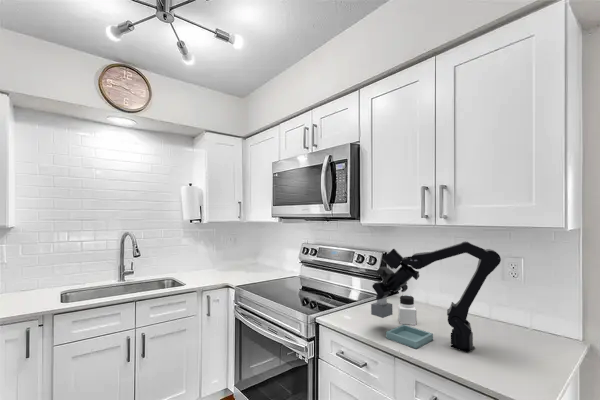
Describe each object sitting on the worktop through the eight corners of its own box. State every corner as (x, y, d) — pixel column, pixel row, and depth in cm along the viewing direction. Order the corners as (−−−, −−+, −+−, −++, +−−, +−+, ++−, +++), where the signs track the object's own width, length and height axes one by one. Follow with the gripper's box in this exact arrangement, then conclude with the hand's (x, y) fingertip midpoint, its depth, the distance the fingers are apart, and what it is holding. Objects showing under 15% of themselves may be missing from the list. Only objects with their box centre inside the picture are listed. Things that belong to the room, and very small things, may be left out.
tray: (433, 340, 121) (433, 333, 121) (416, 349, 112) (416, 342, 112) (403, 330, 131) (403, 324, 131) (386, 338, 122) (386, 331, 122)
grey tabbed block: (392, 314, 132) (392, 293, 132) (383, 318, 127) (382, 296, 128) (380, 311, 136) (380, 290, 137) (371, 314, 132) (371, 293, 132)
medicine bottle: (416, 325, 137) (416, 298, 137) (400, 324, 138) (399, 297, 139) (413, 320, 144) (413, 294, 144) (398, 318, 145) (397, 293, 146)
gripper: (401, 259, 136) (380, 280, 144) (376, 263, 124) (355, 285, 132) (417, 280, 129) (395, 300, 137) (393, 286, 117) (370, 308, 125)
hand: (379, 298), depth 133 cm, fingers closed on grey tabbed block, 3 cm apart
